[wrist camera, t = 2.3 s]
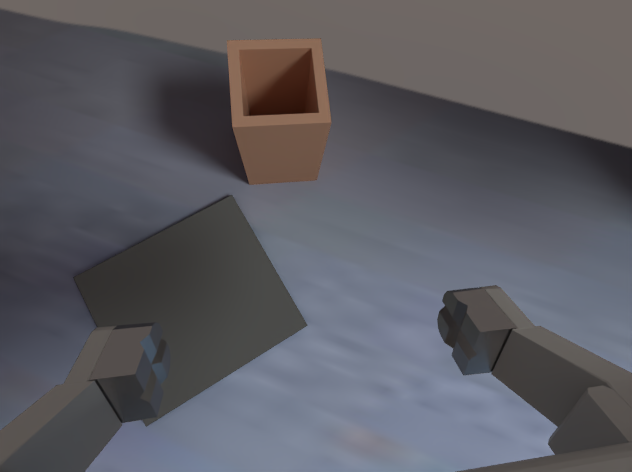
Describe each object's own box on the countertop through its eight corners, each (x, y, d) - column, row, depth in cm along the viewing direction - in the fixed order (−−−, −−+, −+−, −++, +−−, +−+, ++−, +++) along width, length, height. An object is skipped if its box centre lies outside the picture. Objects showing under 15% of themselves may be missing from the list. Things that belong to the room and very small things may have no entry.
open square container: (309, 119, 27) (320, 38, 19) (316, 180, 26) (331, 122, 18) (245, 123, 26) (226, 40, 18) (249, 184, 25) (232, 127, 17)
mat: (232, 196, 25) (232, 194, 25) (307, 325, 24) (307, 325, 23) (76, 277, 23) (73, 277, 23) (148, 424, 22) (145, 426, 21)
